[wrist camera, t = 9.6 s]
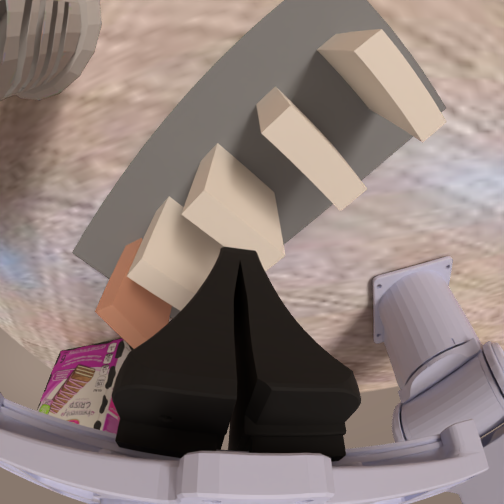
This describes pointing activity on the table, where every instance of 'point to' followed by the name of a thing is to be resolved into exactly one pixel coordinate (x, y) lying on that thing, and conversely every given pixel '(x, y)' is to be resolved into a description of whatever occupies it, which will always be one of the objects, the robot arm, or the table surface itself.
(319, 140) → the domino
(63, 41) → the french press
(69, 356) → the candy bar box
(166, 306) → the domino
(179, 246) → the domino
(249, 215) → the domino
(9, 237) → the table surface
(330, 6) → the slate mat
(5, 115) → the table surface
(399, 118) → the domino
